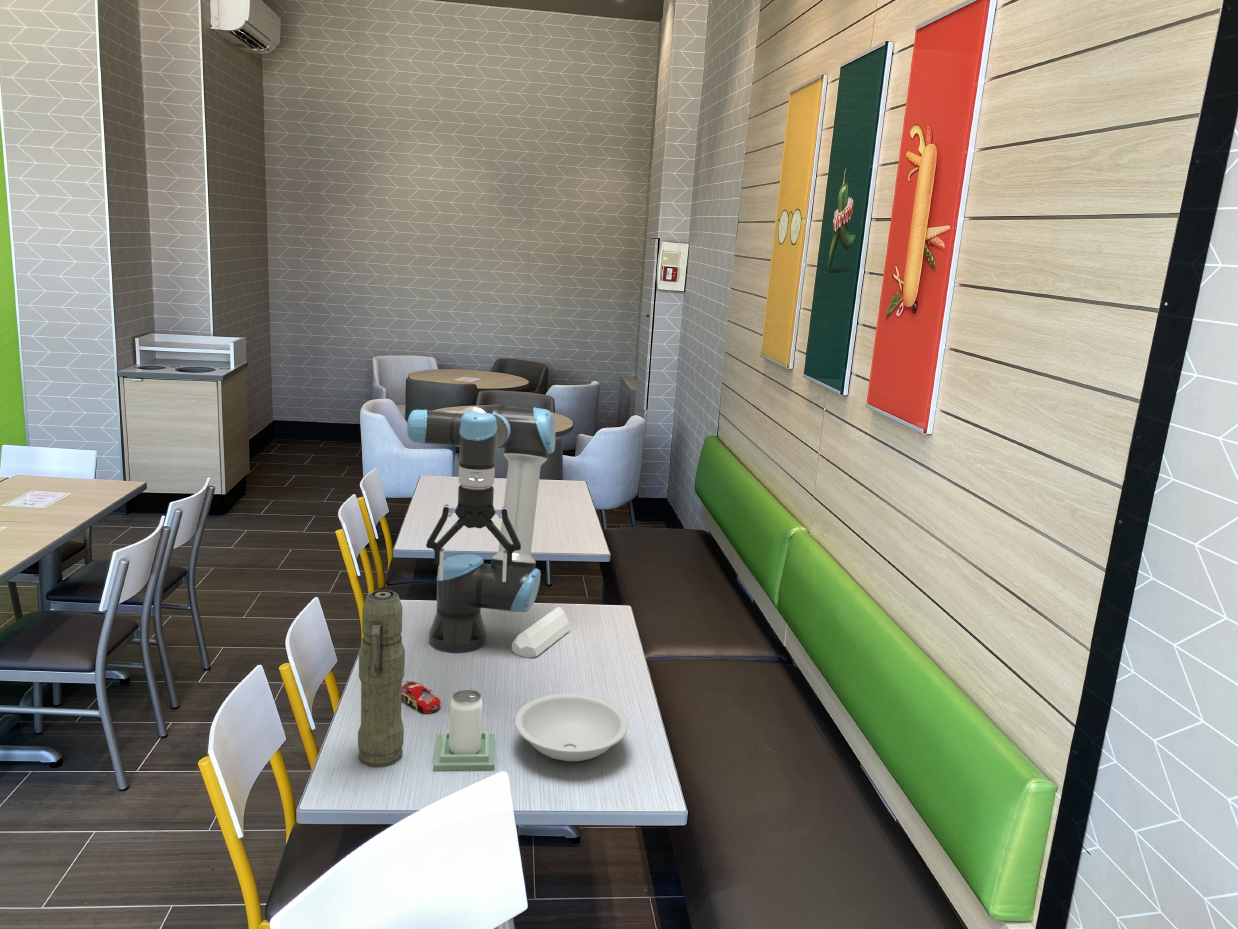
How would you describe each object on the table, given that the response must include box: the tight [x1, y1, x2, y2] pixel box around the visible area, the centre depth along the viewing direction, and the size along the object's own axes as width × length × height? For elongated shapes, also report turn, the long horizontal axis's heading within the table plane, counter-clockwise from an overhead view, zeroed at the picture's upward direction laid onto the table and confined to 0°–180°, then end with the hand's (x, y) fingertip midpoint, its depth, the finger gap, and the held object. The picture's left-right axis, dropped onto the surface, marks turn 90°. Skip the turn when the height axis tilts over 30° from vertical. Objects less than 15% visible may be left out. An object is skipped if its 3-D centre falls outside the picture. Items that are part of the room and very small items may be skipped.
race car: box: [401, 680, 442, 715], centre depth 200 cm, size 13×5×4 cm, turn 50°
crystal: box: [511, 606, 570, 659], centre depth 237 cm, size 7×7×24 cm
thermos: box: [357, 589, 406, 768], centre depth 174 cm, size 9×12×35 cm
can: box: [449, 689, 483, 754], centre depth 179 cm, size 6×6×12 cm
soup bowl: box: [514, 693, 629, 762], centre depth 185 cm, size 24×24×7 cm
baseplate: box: [433, 731, 496, 772], centre depth 180 cm, size 12×12×2 cm
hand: (472, 579), depth 191 cm, fingers open, 13 cm apart
